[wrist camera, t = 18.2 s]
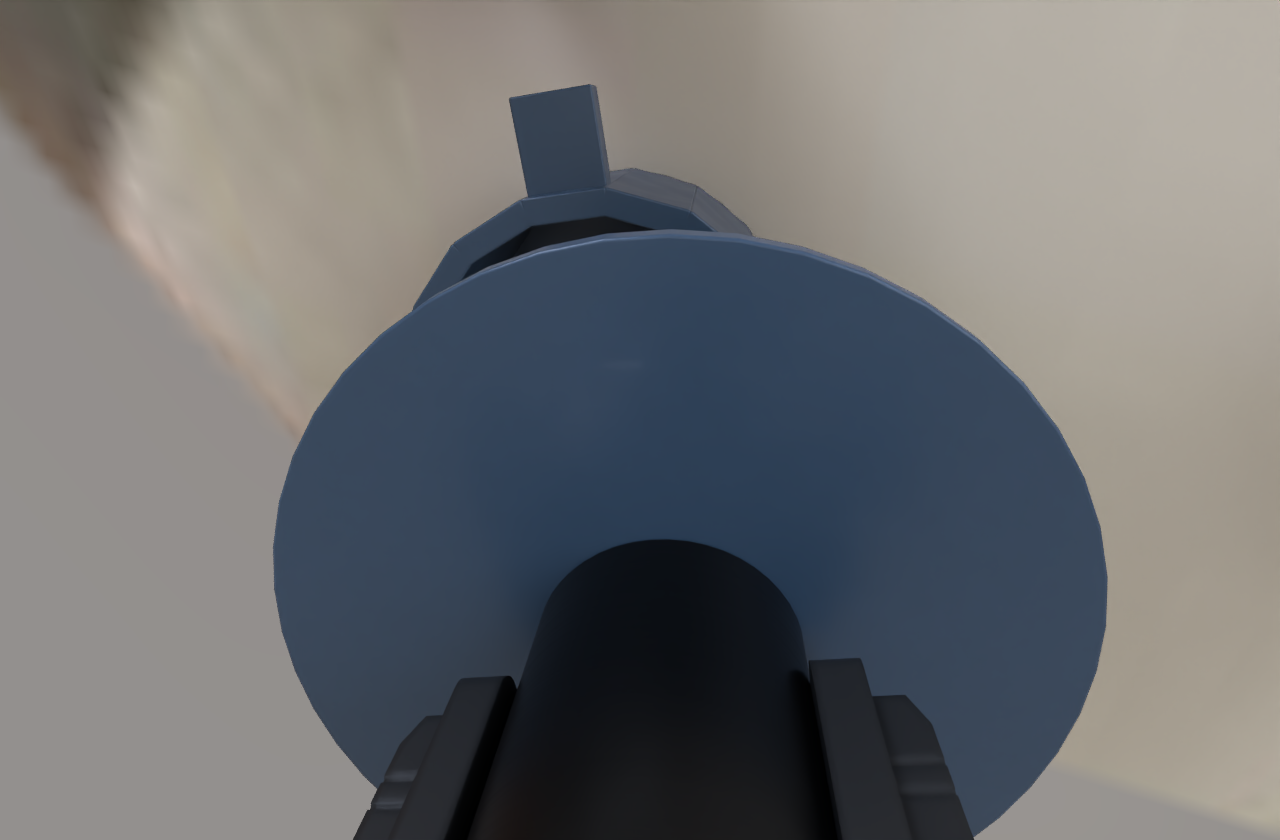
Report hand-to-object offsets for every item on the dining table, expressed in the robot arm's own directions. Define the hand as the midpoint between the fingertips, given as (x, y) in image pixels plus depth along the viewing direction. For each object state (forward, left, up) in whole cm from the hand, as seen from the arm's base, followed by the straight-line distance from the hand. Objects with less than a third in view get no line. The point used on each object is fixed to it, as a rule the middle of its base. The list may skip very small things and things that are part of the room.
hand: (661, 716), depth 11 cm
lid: (0, 0, -2) cm, 2 cm away
